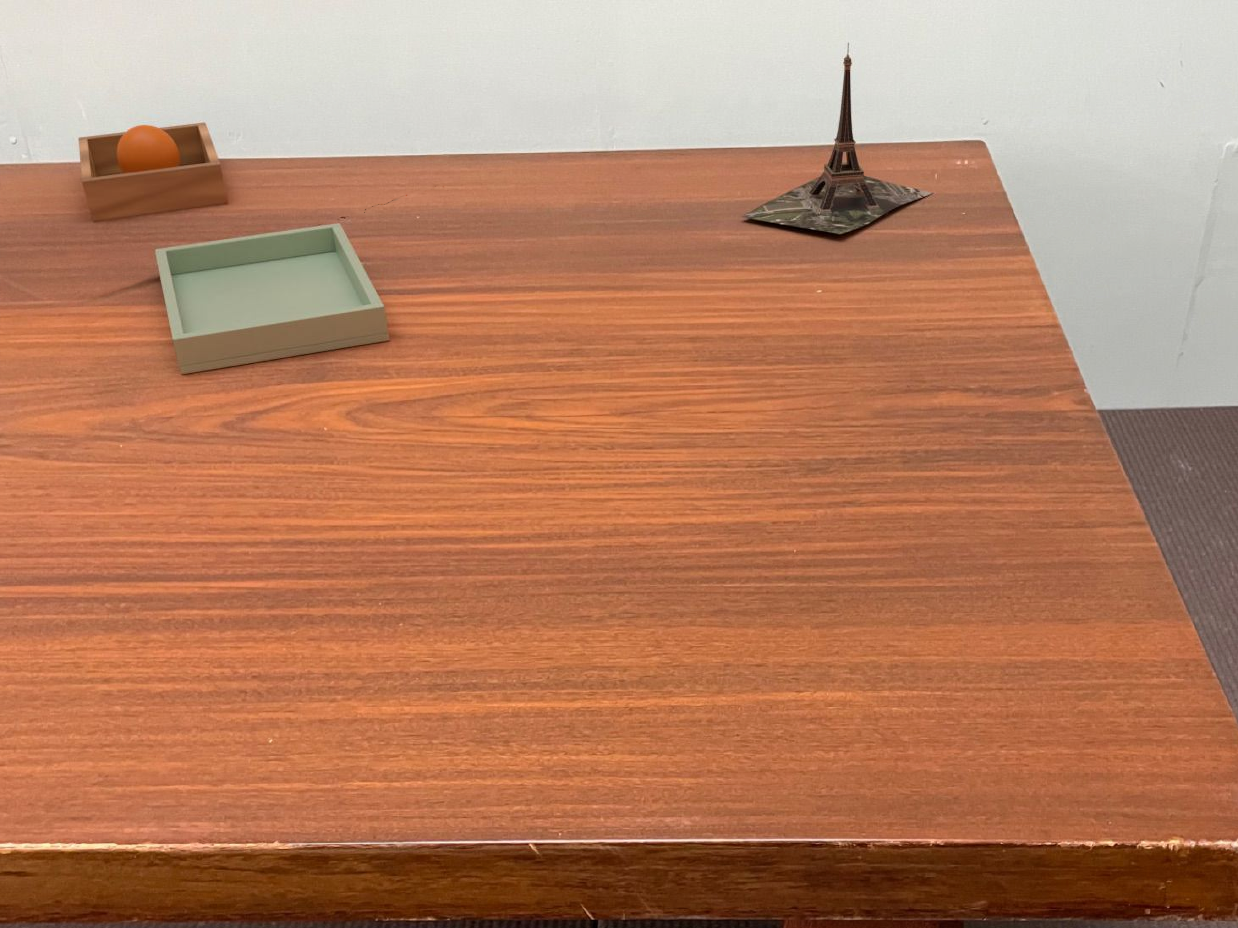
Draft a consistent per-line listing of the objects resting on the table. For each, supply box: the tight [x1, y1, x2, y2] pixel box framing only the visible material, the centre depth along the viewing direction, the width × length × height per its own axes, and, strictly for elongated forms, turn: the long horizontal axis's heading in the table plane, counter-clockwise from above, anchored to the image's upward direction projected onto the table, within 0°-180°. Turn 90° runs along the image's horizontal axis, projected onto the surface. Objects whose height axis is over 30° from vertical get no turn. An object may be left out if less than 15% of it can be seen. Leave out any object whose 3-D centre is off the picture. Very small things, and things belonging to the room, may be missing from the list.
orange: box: [117, 124, 180, 174], centre depth 132 cm, size 5×5×6 cm
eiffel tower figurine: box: [740, 42, 933, 235], centre depth 122 cm, size 15×10×13 cm
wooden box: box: [77, 122, 229, 223], centre depth 133 cm, size 15×12×4 cm
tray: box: [154, 222, 390, 375], centre depth 110 cm, size 20×15×3 cm
